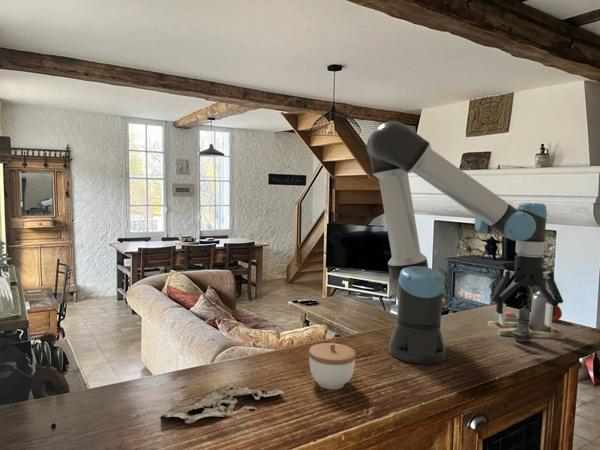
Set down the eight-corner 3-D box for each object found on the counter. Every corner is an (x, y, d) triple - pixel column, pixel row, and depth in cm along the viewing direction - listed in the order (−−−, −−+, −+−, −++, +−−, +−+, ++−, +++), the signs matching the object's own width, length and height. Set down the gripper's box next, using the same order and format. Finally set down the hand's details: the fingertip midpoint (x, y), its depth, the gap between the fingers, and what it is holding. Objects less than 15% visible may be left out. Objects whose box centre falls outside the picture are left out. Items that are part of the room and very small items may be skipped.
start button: (503, 322, 155) (503, 314, 155) (498, 319, 159) (499, 310, 159) (516, 323, 155) (517, 315, 154) (511, 319, 159) (511, 311, 159)
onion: (539, 322, 160) (541, 300, 160) (545, 319, 164) (547, 297, 163) (557, 326, 156) (559, 303, 155) (563, 323, 160) (565, 301, 159)
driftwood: (261, 370, 104) (267, 357, 101) (285, 408, 98) (293, 395, 95) (153, 414, 88) (157, 399, 85) (175, 463, 82) (180, 448, 79)
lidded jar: (325, 398, 97) (327, 356, 96) (298, 379, 106) (300, 340, 105) (363, 388, 103) (366, 347, 102) (335, 370, 112) (337, 333, 111)
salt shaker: (536, 348, 133) (539, 308, 132) (516, 347, 133) (519, 307, 132) (526, 341, 139) (530, 303, 138) (507, 340, 139) (510, 302, 138)
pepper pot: (534, 335, 142) (538, 292, 141) (526, 329, 148) (529, 287, 147) (554, 336, 142) (558, 293, 141) (544, 330, 148) (548, 288, 147)
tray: (498, 338, 141) (499, 330, 141) (487, 328, 151) (487, 320, 151) (564, 341, 140) (565, 333, 140) (548, 331, 150) (549, 324, 150)
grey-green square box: (500, 326, 154) (501, 317, 153) (493, 320, 161) (493, 311, 160) (521, 327, 153) (522, 318, 153) (513, 321, 160) (513, 312, 160)
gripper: (565, 254, 137) (560, 322, 139) (482, 251, 138) (478, 319, 140) (579, 258, 129) (574, 330, 131) (491, 255, 131) (486, 327, 133)
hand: (524, 325), depth 136 cm, fingers open, 13 cm apart
